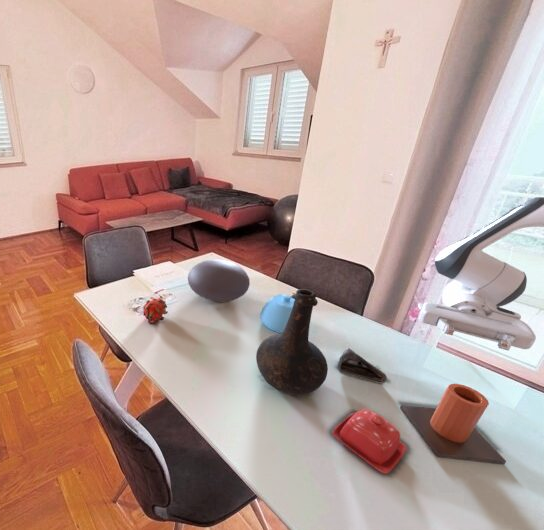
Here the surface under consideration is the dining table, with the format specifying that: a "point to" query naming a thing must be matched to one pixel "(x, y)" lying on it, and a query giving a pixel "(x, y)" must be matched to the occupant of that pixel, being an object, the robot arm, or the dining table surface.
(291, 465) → the dining table surface
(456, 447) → the plate
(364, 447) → the butter dish
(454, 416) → the pot
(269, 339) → the glass bottle
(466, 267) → the robot arm
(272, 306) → the sugar bowl
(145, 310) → the dragon fruit
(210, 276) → the smooth stone
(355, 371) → the chocolate cake
